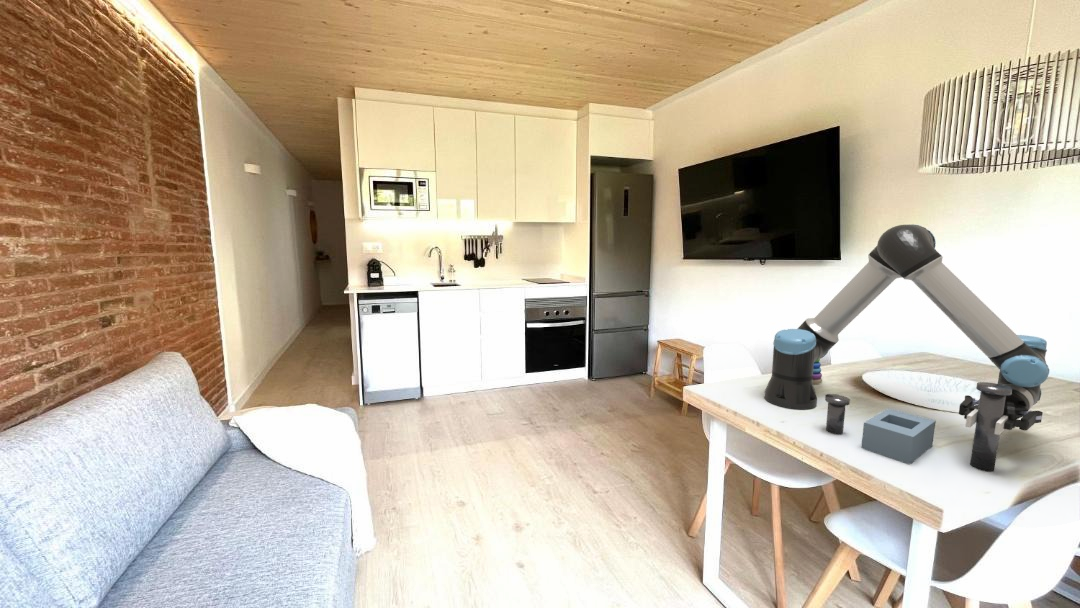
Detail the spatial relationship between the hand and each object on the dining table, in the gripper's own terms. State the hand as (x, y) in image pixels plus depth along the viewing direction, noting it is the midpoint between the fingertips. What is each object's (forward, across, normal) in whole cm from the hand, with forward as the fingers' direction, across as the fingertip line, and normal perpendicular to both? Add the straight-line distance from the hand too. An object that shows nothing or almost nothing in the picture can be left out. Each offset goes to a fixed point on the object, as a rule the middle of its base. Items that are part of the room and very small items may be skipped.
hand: (982, 425), depth 97 cm
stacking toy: (-37, +53, -12) cm, 65 cm away
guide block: (-1, +15, -12) cm, 19 cm away
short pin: (+2, +28, -12) cm, 31 cm away
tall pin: (-5, 0, -12) cm, 13 cm away
